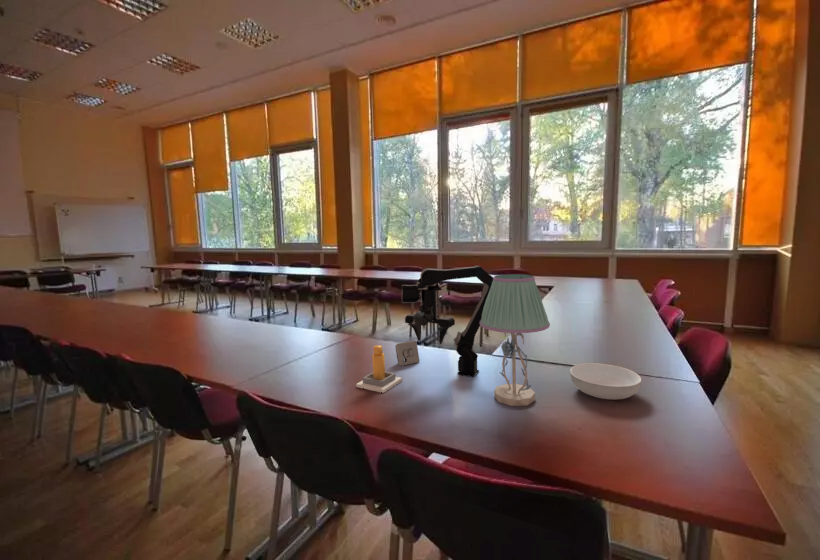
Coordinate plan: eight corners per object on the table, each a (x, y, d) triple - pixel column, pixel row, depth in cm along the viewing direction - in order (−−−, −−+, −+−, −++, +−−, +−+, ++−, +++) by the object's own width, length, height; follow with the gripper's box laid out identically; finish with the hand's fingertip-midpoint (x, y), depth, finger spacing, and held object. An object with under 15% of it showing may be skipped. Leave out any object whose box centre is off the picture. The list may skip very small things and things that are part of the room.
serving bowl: (641, 413, 114) (642, 390, 113) (565, 400, 124) (565, 379, 123) (640, 387, 132) (640, 367, 131) (573, 377, 142) (573, 359, 141)
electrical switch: (399, 366, 161) (398, 344, 160) (394, 364, 165) (393, 342, 165) (420, 362, 165) (418, 341, 164) (414, 360, 169) (413, 339, 169)
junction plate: (402, 380, 145) (401, 372, 145) (383, 393, 135) (383, 384, 135) (376, 375, 151) (375, 367, 151) (356, 387, 141) (356, 378, 141)
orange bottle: (387, 381, 143) (386, 346, 141) (377, 384, 140) (376, 349, 138) (381, 377, 146) (379, 344, 144) (371, 380, 143) (369, 346, 142)
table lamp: (468, 391, 133) (466, 275, 128) (520, 380, 141) (520, 271, 136) (506, 418, 113) (505, 283, 108) (564, 404, 121) (566, 276, 116)
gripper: (396, 303, 144) (397, 344, 146) (441, 307, 135) (442, 351, 137) (411, 299, 154) (412, 337, 156) (455, 302, 144) (455, 343, 146)
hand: (429, 342), depth 148 cm, fingers open, 9 cm apart
